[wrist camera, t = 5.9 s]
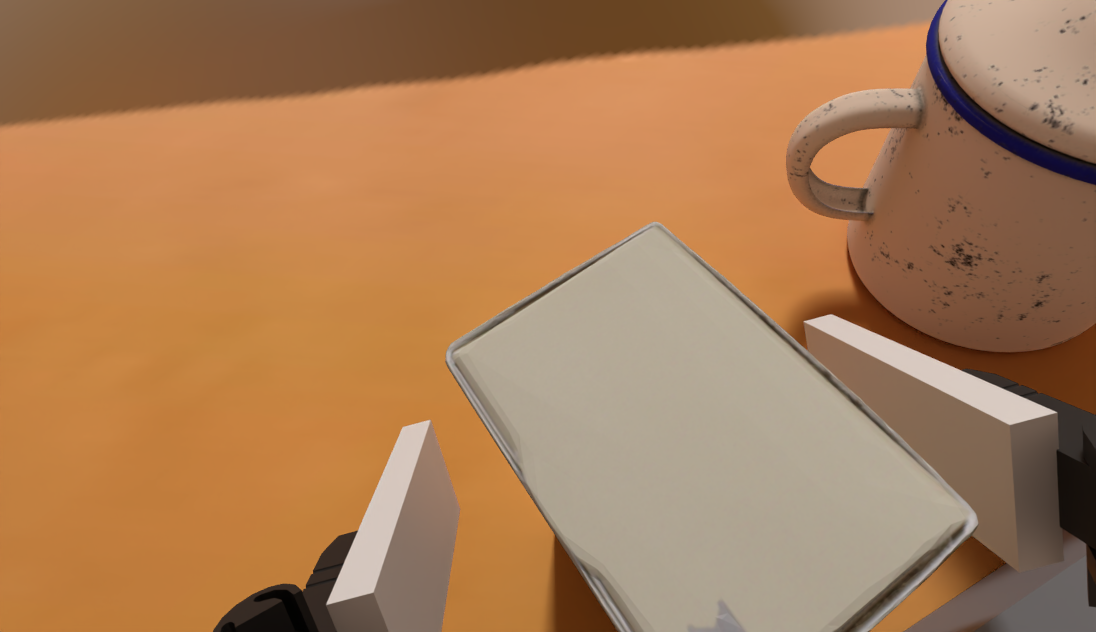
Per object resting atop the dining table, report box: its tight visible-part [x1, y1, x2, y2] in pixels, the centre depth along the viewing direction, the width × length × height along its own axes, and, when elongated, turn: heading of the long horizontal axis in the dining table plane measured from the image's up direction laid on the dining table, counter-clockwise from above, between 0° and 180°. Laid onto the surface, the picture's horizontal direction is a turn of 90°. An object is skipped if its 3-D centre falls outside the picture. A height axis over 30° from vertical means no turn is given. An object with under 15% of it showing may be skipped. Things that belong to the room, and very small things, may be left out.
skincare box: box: [445, 222, 979, 632], centre depth 13 cm, size 6×4×12 cm
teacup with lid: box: [786, 0, 1096, 352], centre depth 17 cm, size 12×9×12 cm
